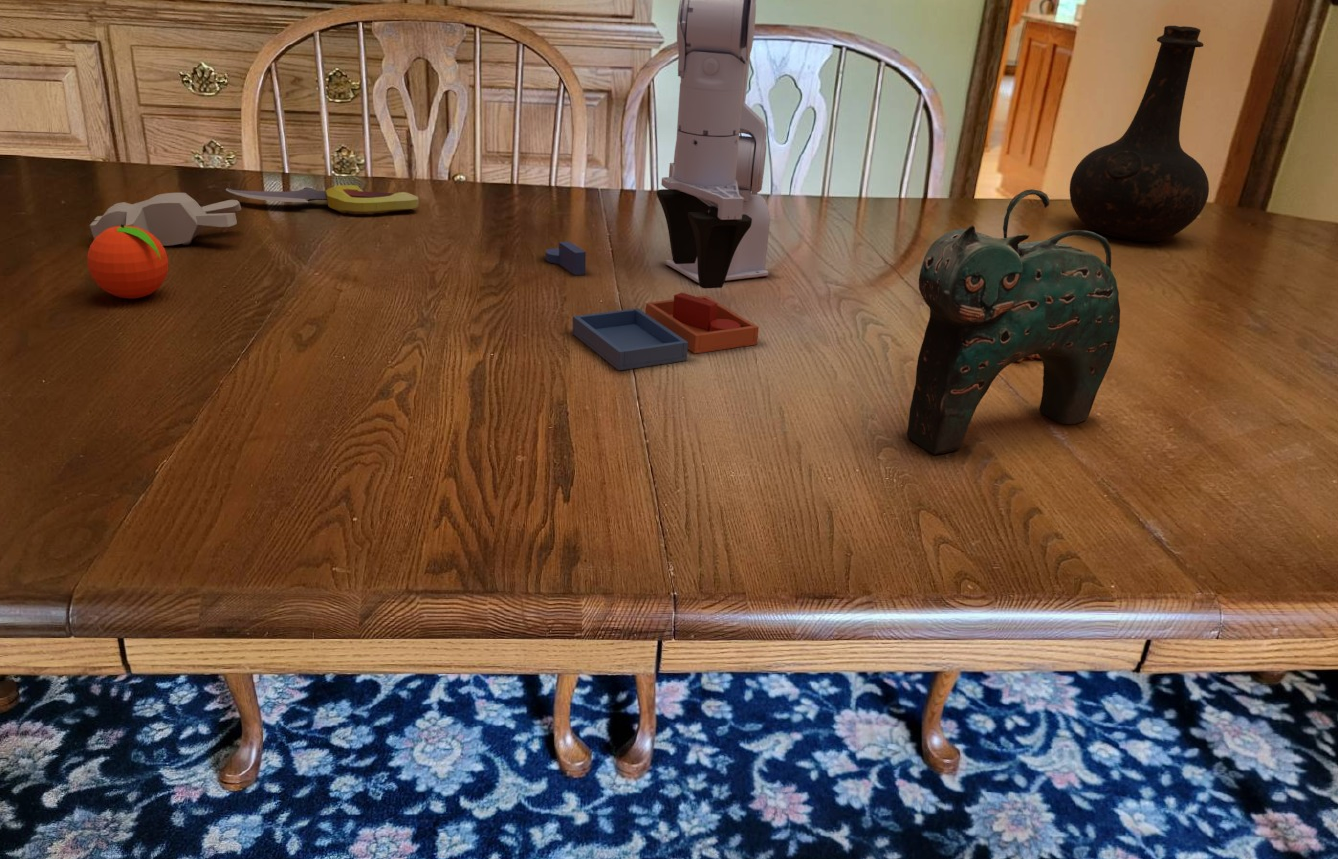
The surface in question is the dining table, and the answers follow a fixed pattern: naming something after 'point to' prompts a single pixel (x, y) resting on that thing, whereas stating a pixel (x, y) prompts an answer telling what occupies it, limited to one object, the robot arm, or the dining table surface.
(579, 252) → the blue stepped block
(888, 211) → the dining table surface
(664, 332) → the blue tray
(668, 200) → the robot arm
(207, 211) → the bunny figurine
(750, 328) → the red tray
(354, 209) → the knife
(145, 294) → the clementine
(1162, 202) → the glass bottle
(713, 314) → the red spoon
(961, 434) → the ceramic cat
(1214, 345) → the dining table surface
